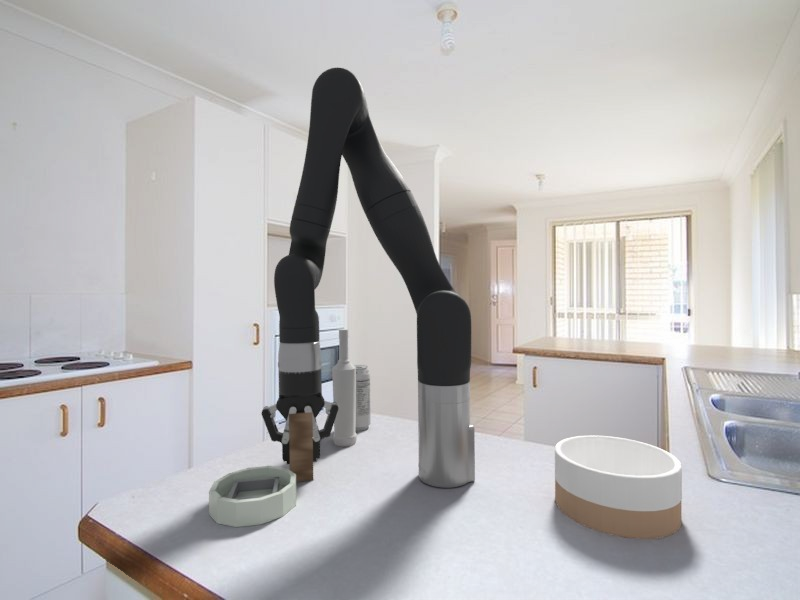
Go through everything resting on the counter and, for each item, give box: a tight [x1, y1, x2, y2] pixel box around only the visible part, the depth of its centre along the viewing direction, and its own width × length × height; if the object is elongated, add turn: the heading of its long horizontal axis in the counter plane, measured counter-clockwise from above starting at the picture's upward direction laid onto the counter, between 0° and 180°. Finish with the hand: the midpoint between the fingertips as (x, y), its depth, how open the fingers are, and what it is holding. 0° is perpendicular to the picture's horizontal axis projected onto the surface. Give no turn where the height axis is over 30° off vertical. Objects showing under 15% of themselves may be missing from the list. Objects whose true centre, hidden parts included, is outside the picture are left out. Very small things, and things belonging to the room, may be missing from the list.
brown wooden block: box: [289, 412, 314, 483], centre depth 78 cm, size 4×4×12 cm
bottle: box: [331, 328, 358, 447], centre depth 95 cm, size 5×5×25 cm
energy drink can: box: [352, 364, 372, 432], centre depth 106 cm, size 6×6×15 cm
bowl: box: [554, 434, 683, 540], centre depth 66 cm, size 17×17×8 cm
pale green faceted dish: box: [208, 465, 297, 528], centre depth 68 cm, size 13×13×4 cm
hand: (301, 461), depth 78 cm, fingers closed on brown wooden block, 4 cm apart
